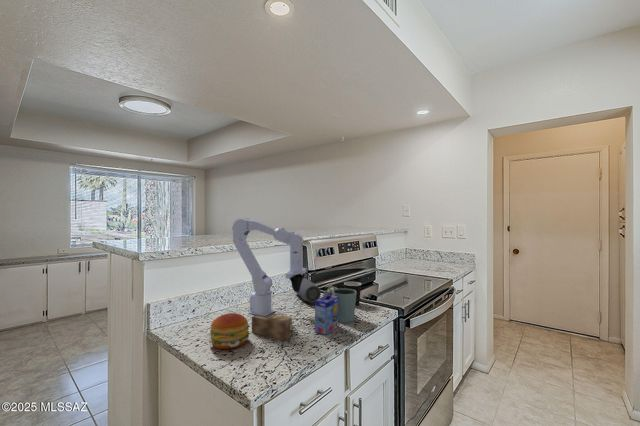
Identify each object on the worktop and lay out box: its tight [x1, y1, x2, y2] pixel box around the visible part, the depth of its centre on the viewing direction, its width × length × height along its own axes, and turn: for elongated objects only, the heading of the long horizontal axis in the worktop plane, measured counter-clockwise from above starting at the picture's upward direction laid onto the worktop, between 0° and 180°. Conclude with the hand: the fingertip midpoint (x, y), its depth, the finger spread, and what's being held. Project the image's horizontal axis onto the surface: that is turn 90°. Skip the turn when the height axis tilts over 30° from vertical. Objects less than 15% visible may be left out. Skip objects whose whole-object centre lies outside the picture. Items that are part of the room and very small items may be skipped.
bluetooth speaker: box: [291, 277, 322, 303], centre depth 154 cm, size 23×9×10 cm, turn 23°
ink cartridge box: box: [314, 292, 339, 336], centre depth 114 cm, size 10×6×14 cm, turn 149°
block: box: [267, 313, 293, 331], centre depth 113 cm, size 8×7×5 cm
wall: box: [251, 314, 291, 342], centre depth 109 cm, size 16×2×6 cm, turn 62°
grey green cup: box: [332, 287, 357, 324], centre depth 125 cm, size 10×10×12 cm
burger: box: [208, 312, 250, 350], centre depth 103 cm, size 13×14×10 cm
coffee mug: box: [336, 281, 362, 307], centre depth 146 cm, size 12×9×10 cm
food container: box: [322, 285, 339, 297], centre depth 135 cm, size 12×6×10 cm, turn 168°
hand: (296, 291), depth 132 cm, fingers closed
